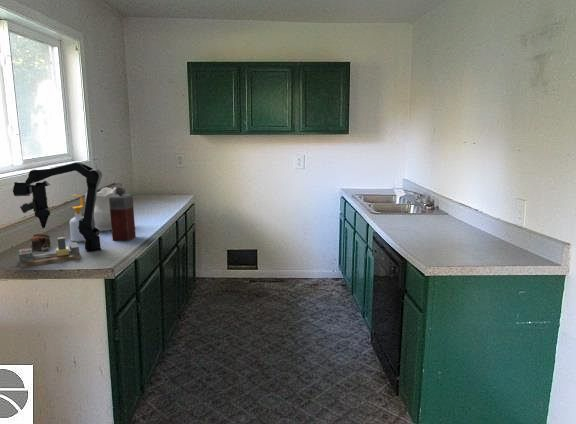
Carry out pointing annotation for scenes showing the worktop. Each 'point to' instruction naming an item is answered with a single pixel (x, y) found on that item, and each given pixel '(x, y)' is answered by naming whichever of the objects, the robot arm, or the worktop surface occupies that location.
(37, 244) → the pottery mug
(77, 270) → the worktop surface
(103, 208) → the ceramic pitcher
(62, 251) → the carriage
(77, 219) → the soap bottle
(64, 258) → the rail board
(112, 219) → the brown syrup bottle
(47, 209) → the robot arm
